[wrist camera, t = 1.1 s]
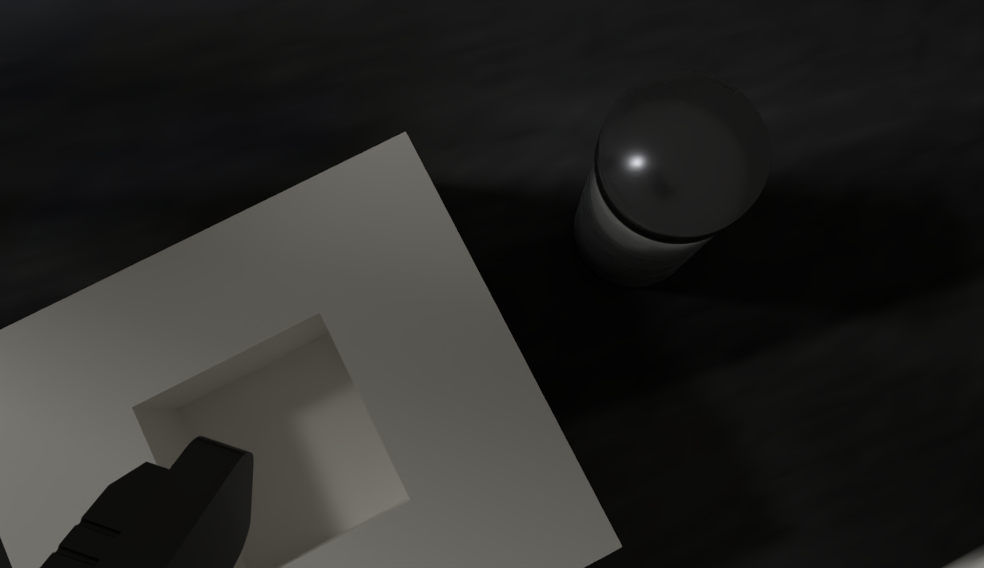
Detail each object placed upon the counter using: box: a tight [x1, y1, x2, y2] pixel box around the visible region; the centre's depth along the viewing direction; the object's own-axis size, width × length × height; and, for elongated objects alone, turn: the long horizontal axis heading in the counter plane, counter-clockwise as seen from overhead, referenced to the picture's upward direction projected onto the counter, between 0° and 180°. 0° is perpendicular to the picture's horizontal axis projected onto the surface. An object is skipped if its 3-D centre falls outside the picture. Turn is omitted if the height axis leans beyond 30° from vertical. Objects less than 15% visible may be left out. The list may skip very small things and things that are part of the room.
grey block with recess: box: [0, 132, 622, 568], centre depth 30 cm, size 16×18×6 cm
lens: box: [574, 70, 771, 288], centre depth 30 cm, size 5×5×10 cm
